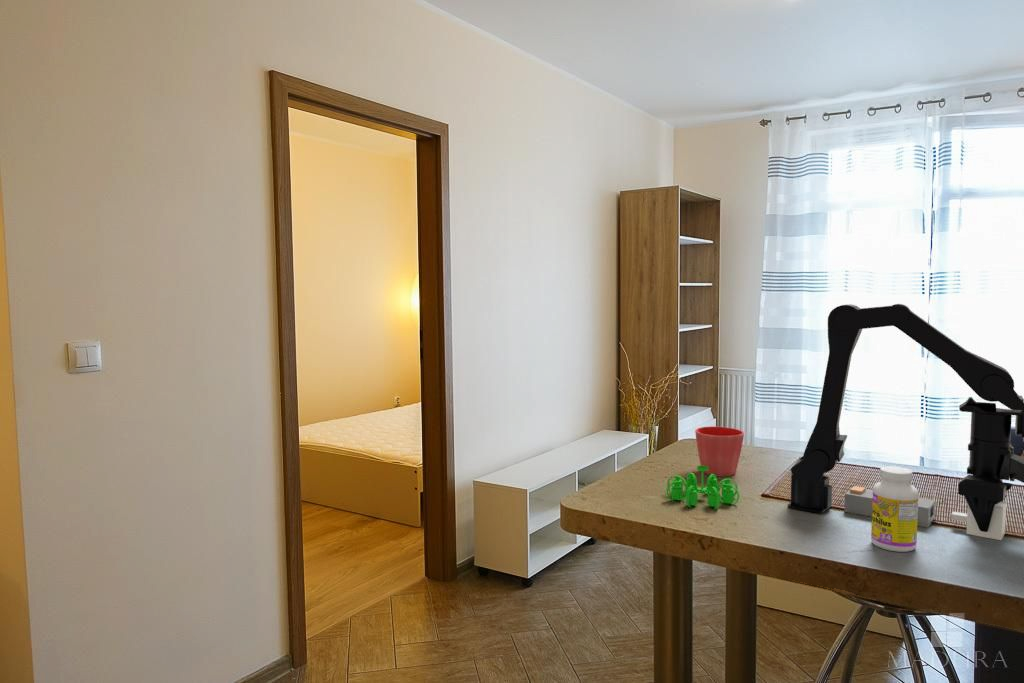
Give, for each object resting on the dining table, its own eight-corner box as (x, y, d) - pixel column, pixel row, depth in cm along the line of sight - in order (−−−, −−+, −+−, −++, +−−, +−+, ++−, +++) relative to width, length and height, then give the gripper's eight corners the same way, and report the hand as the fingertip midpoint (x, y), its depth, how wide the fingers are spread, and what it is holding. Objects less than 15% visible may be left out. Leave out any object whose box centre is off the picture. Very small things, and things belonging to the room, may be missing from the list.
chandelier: (751, 498, 145) (751, 464, 144) (725, 517, 133) (725, 481, 132) (682, 486, 154) (682, 454, 153) (651, 503, 142) (652, 469, 141)
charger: (949, 530, 124) (950, 499, 124) (954, 523, 128) (955, 493, 127) (1001, 540, 119) (1002, 508, 119) (1004, 532, 123) (1006, 501, 122)
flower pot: (749, 477, 159) (750, 435, 158) (701, 478, 159) (701, 435, 158) (735, 466, 170) (736, 426, 169) (689, 466, 170) (690, 426, 169)
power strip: (844, 511, 135) (845, 490, 134) (853, 504, 139) (854, 483, 139) (928, 527, 126) (928, 505, 125) (934, 519, 130) (935, 497, 130)
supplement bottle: (862, 539, 120) (865, 465, 119) (899, 538, 121) (902, 464, 120) (886, 554, 113) (889, 475, 112) (925, 552, 114) (928, 474, 113)
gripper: (1044, 455, 109) (1039, 554, 110) (1053, 436, 123) (1048, 523, 124) (959, 445, 116) (955, 538, 117) (977, 428, 130) (973, 510, 132)
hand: (986, 527), depth 122 cm, fingers closed on charger, 5 cm apart
